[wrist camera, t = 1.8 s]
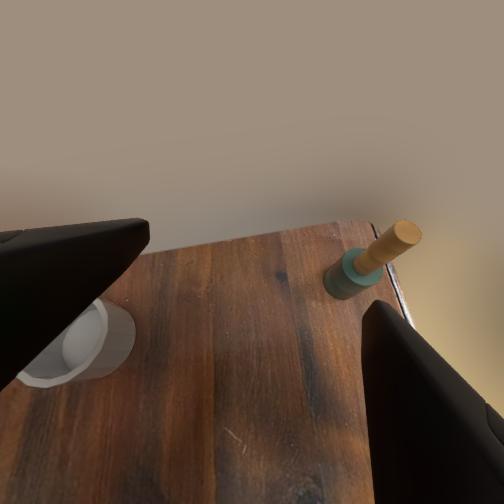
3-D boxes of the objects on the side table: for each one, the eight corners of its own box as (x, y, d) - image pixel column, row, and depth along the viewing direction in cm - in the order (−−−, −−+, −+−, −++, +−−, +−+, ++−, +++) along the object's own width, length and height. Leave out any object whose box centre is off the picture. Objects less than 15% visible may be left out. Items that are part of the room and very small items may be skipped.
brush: (362, 294, 24) (449, 249, 14) (331, 303, 23) (399, 263, 13) (347, 264, 25) (416, 203, 15) (318, 272, 25) (369, 214, 15)
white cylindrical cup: (138, 367, 20) (108, 369, 16) (58, 391, 19) (0, 401, 15) (133, 296, 23) (107, 281, 18) (62, 314, 22) (15, 303, 17)
